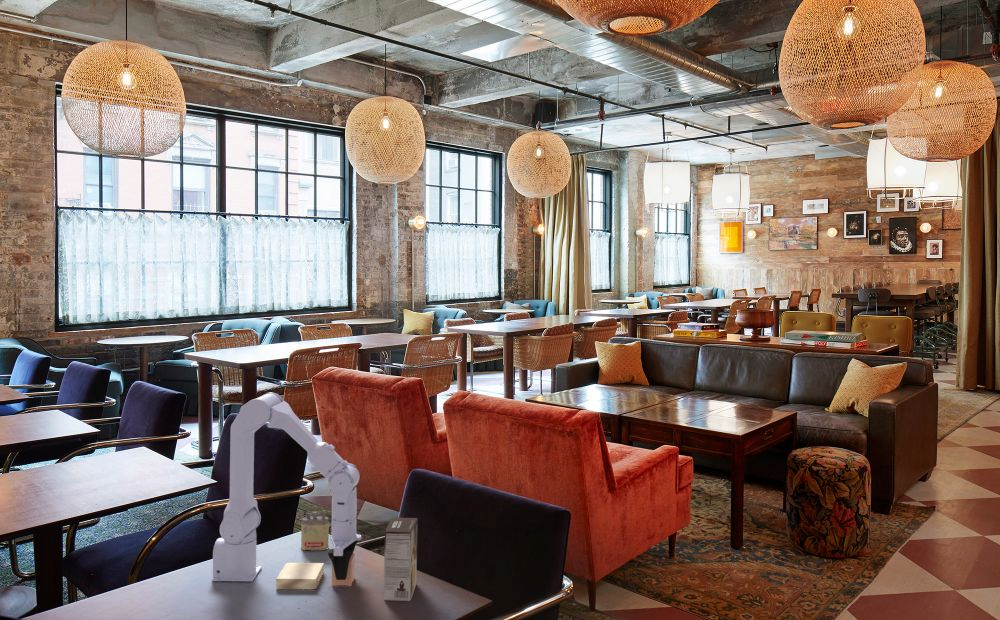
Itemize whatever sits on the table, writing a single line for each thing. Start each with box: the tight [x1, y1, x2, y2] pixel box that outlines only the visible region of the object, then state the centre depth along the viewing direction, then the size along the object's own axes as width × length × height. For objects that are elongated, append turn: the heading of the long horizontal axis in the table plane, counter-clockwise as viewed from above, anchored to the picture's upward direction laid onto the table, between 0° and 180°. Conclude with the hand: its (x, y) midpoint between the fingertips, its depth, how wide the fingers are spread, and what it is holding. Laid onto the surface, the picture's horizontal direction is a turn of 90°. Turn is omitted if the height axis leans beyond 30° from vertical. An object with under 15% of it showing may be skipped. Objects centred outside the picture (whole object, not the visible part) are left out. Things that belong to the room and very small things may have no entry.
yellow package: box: [300, 509, 330, 551], centre depth 193 cm, size 7×4×10 cm, turn 97°
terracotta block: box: [331, 553, 356, 587], centre depth 174 cm, size 4×4×6 cm
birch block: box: [275, 562, 325, 591], centre depth 173 cm, size 9×9×3 cm
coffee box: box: [383, 517, 419, 602], centre depth 169 cm, size 9×6×16 cm
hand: (343, 573), depth 174 cm, fingers open, 5 cm apart
